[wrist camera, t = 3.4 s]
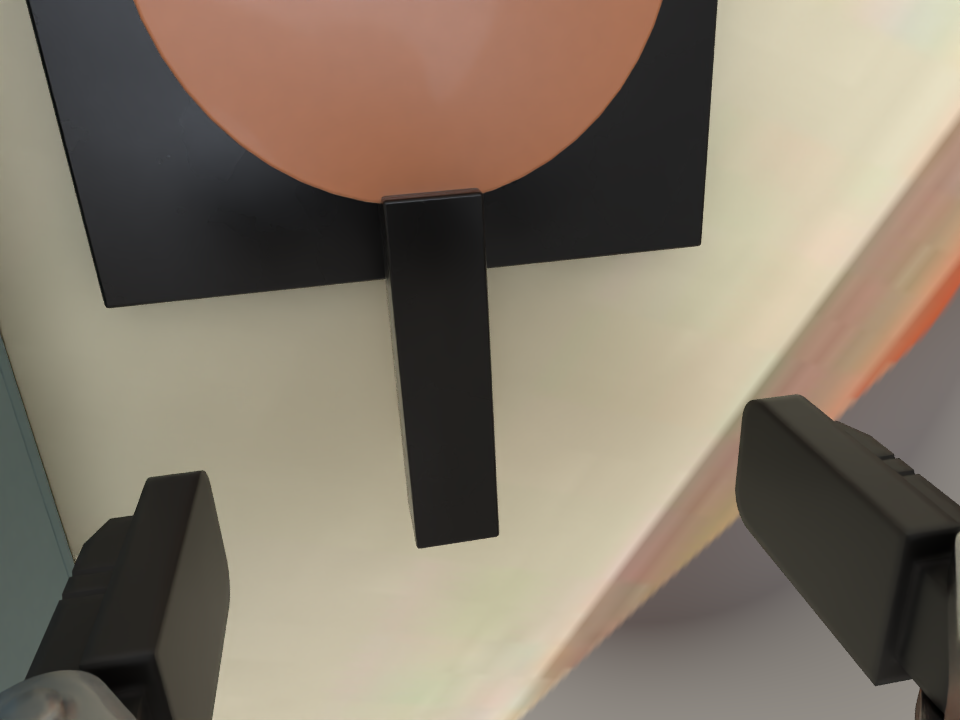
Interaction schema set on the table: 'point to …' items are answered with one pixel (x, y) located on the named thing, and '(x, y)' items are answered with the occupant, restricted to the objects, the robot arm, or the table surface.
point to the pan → (414, 167)
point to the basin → (25, 538)
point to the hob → (332, 218)
